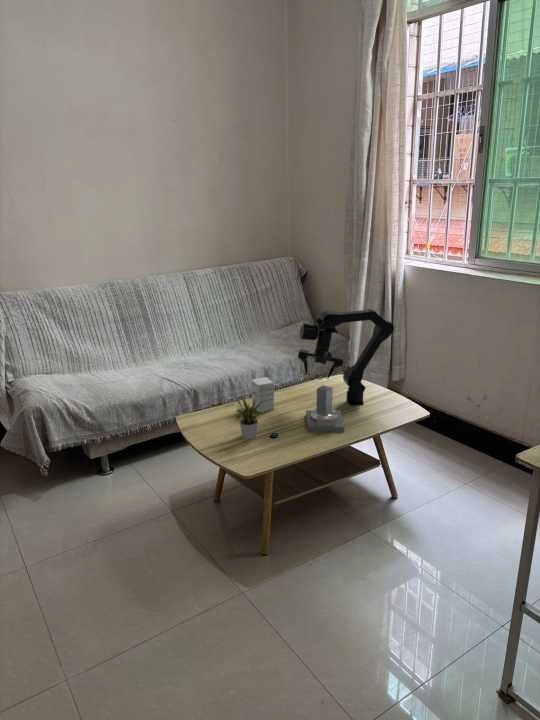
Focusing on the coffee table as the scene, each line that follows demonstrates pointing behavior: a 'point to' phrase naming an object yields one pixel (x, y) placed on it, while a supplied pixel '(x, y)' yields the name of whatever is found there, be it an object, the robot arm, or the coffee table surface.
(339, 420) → the scale base
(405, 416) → the coffee table surface
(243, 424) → the house plant
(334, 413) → the scale pan
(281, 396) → the coffee table surface
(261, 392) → the supplement box
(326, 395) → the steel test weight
